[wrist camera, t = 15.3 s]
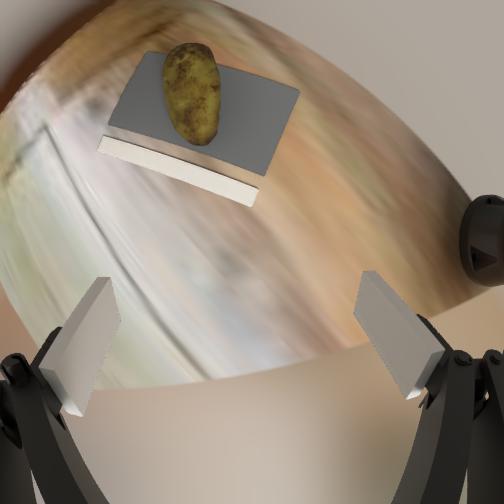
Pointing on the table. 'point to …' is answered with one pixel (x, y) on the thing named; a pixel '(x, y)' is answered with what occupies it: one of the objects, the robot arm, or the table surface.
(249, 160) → the mat
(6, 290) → the table surface
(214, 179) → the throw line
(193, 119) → the potato
